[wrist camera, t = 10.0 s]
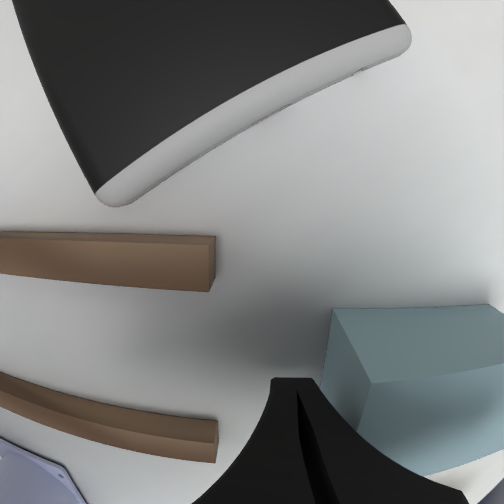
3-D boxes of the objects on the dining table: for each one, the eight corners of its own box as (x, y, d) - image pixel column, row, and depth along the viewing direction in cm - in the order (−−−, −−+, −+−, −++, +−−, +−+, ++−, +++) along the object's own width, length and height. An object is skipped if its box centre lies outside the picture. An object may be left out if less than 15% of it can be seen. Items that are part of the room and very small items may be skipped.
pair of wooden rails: (218, 441, 13) (215, 463, 12) (-44, 367, 14) (-56, 376, 12) (215, 236, 11) (208, 245, 10) (-77, 231, 11) (-92, 236, 10)
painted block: (458, 390, 13) (503, 448, 8) (315, 406, 13) (333, 492, 8) (486, 302, 12) (553, 349, 7) (331, 306, 12) (371, 383, 7)
